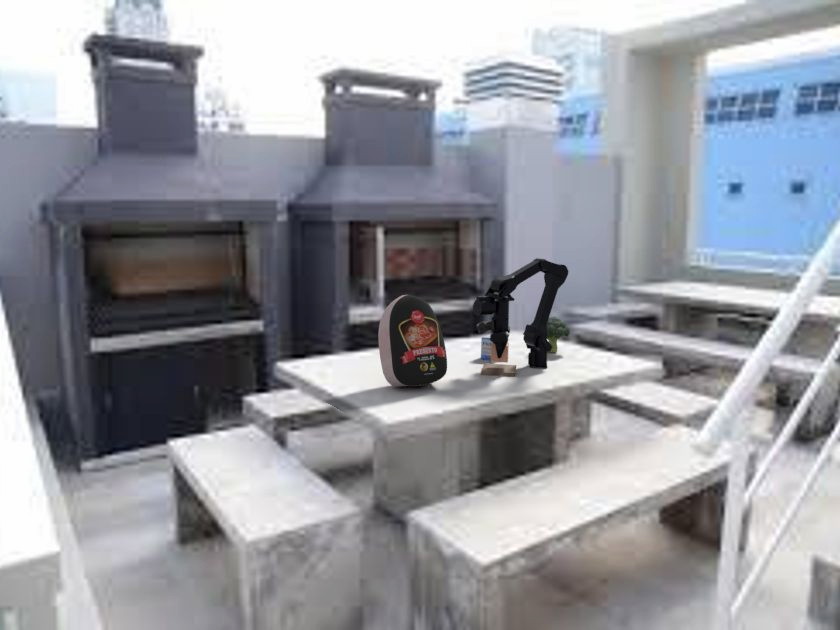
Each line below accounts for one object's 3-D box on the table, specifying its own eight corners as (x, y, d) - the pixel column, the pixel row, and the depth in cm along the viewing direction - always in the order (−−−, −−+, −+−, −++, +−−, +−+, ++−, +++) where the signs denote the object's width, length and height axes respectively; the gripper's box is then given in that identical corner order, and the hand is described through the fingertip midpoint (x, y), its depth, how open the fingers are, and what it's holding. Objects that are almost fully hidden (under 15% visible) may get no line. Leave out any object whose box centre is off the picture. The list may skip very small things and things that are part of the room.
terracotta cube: (508, 358, 250) (508, 342, 249) (507, 362, 244) (508, 346, 243) (491, 358, 251) (492, 342, 250) (490, 361, 245) (491, 345, 244)
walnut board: (516, 368, 253) (516, 365, 253) (515, 376, 242) (515, 373, 241) (483, 366, 255) (483, 363, 255) (481, 374, 244) (481, 371, 243)
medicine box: (480, 359, 268) (481, 337, 266) (482, 356, 272) (483, 335, 270) (500, 360, 265) (501, 338, 264) (502, 358, 269) (503, 336, 268)
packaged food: (401, 396, 215) (401, 302, 210) (368, 383, 231) (367, 295, 226) (455, 386, 228) (456, 297, 223) (420, 374, 244) (421, 290, 239)
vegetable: (535, 348, 286) (536, 313, 284) (566, 349, 286) (567, 314, 283) (539, 355, 274) (540, 318, 272) (571, 356, 274) (572, 319, 271)
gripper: (480, 308, 255) (479, 349, 258) (476, 317, 237) (475, 361, 240) (510, 309, 253) (509, 350, 256) (508, 318, 235) (507, 362, 238)
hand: (499, 356), depth 247 cm, fingers closed on terracotta cube, 6 cm apart
